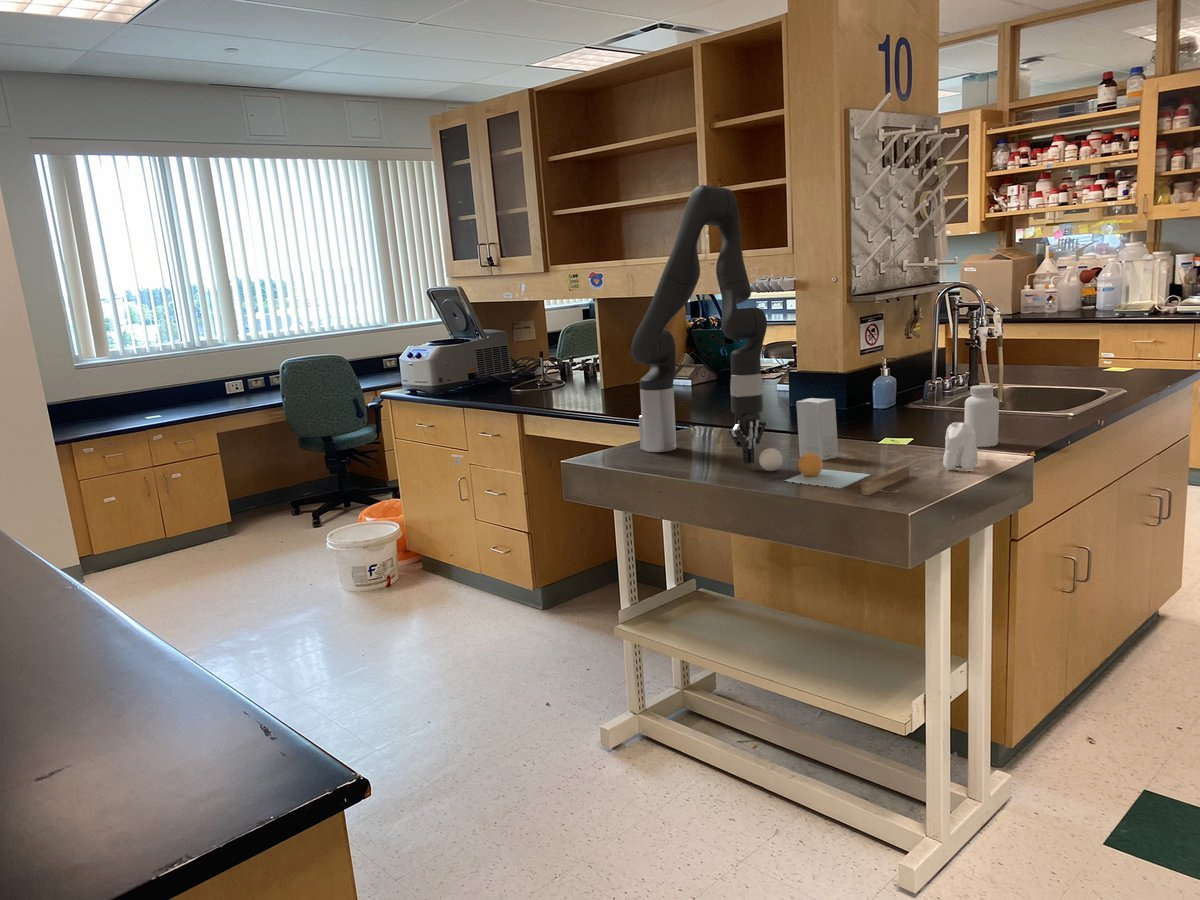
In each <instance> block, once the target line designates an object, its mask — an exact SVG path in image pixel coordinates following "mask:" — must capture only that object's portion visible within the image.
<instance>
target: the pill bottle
mask: <svg viewBox="0 0 1200 900" xmlns="http://www.w3.org/2000/svg"><path fill="white" fill-rule="evenodd" d="M969 389H970V391H969V393H970V395H971V396H969V397H967V398H966V399H965V401H964V421H963V423H966V424H968V425H969V426H970V427H971V429H972V430H974V431H975V433H976V441H975V444H976V447H977V448H990V447H991V446H992V447H995V446H997V445H998V441H999V421H1000V420H999V419H1000V418H999V415H1000V400H999V399H998V397H995V396H993V395H994V386H993V385H989V384H981V385H980V384H979V385H972V386H970V388H969Z"/></svg>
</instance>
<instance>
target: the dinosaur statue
mask: <svg viewBox="0 0 1200 900" xmlns="http://www.w3.org/2000/svg"><path fill="white" fill-rule="evenodd" d="M944 440H945V445H944V446H945V447H944V448H945V450H944V454H943V457H942V458H943V459H942V460H943V463H942V464H943V467H944V468H945V469H946V470H947V469H949V470H951V471H953V470H955V469H956V466H957V465H960V466H961V469H962V470H963V471H965V470H972V469H974V470H975V467H976V466H977V465H978V447H976V444H975V441H976V433H975V431H974V430H972V429H971V427H970V426H969V425H968V424H966V423H964V422H951V424H949V425H948V426H947V429H946V433H945V438H944ZM975 465H976V466H975ZM957 467H958V466H957ZM949 470H948V471H949Z"/></svg>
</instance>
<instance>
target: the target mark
mask: <svg viewBox="0 0 1200 900" xmlns="http://www.w3.org/2000/svg"><path fill="white" fill-rule="evenodd" d="M871 475H872V474H869V473H860V472H859V473H858V472H853V471H852V472H851V471H841V470H835V469H834V470H833V469H823V468H822V471H821V472H820V473H819V474H818V475H816V476H813V477H808V476H805V475H803V474H802V473H800V474H798V475H795V476H792V477H790V478H787V479H784V481H787V482H786V483H792V482H794V484H800V483H802V485H808V484H810V485H811V486H816V485H819V486H818V487H824V486H827V487H826V488H832V487H833V489H834V488H835V489H844V488H846V487H847V486H850V485H852V484H854V483H856V482H858V481H861V480H863V479H865V477H866V478H867V477H870V476H871Z"/></svg>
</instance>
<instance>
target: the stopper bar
mask: <svg viewBox="0 0 1200 900" xmlns="http://www.w3.org/2000/svg"><path fill="white" fill-rule="evenodd" d="M908 476H909V477H910V464H901V465H899V466H897V467H895V468H892V469H890V470H888V471H886V472H883V473H881V474H879V475H877V476H874V477H873V478H870V479H868V480H865V481H864V482H862V483H861V484H860V485H861V486H860V487H861V492H860V493H861V494H860V495H861V496H865V495H869V496H871V495H873V494H875V493H878V492H879V490H880V491H881V489H882V490H884V489H885V487H886V488H888V487H890V486H891V485H894V484H896V483H898V482H899V480H900V481H902V480H904V479H907V478H908ZM906 477H907V478H906ZM903 478H904V479H903ZM897 481H898V482H897ZM895 482H896V483H895ZM893 483H894V484H893ZM889 485H890V486H889ZM887 486H888V487H887ZM883 488H884V489H883ZM870 494H871V495H870Z"/></svg>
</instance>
